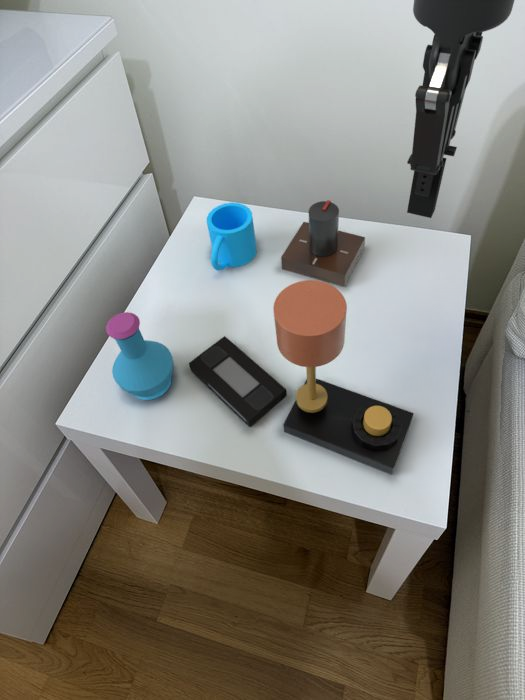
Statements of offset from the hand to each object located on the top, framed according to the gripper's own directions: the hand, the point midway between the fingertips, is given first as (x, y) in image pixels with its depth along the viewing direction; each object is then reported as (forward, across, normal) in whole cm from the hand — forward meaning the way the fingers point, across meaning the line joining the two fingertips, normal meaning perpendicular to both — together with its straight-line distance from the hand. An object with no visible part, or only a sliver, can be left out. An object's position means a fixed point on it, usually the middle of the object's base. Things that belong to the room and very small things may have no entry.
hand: (420, 211), depth 57 cm
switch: (+25, +14, +2) cm, 29 cm away
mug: (+29, -10, -34) cm, 46 cm away
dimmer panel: (+28, -16, -18) cm, 37 cm away
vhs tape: (+29, +14, -20) cm, 38 cm away
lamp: (+24, +14, -8) cm, 29 cm away
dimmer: (+25, -16, -18) cm, 35 cm away
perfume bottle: (+29, +19, -33) cm, 48 cm away
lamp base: (+28, +14, -2) cm, 32 cm away
